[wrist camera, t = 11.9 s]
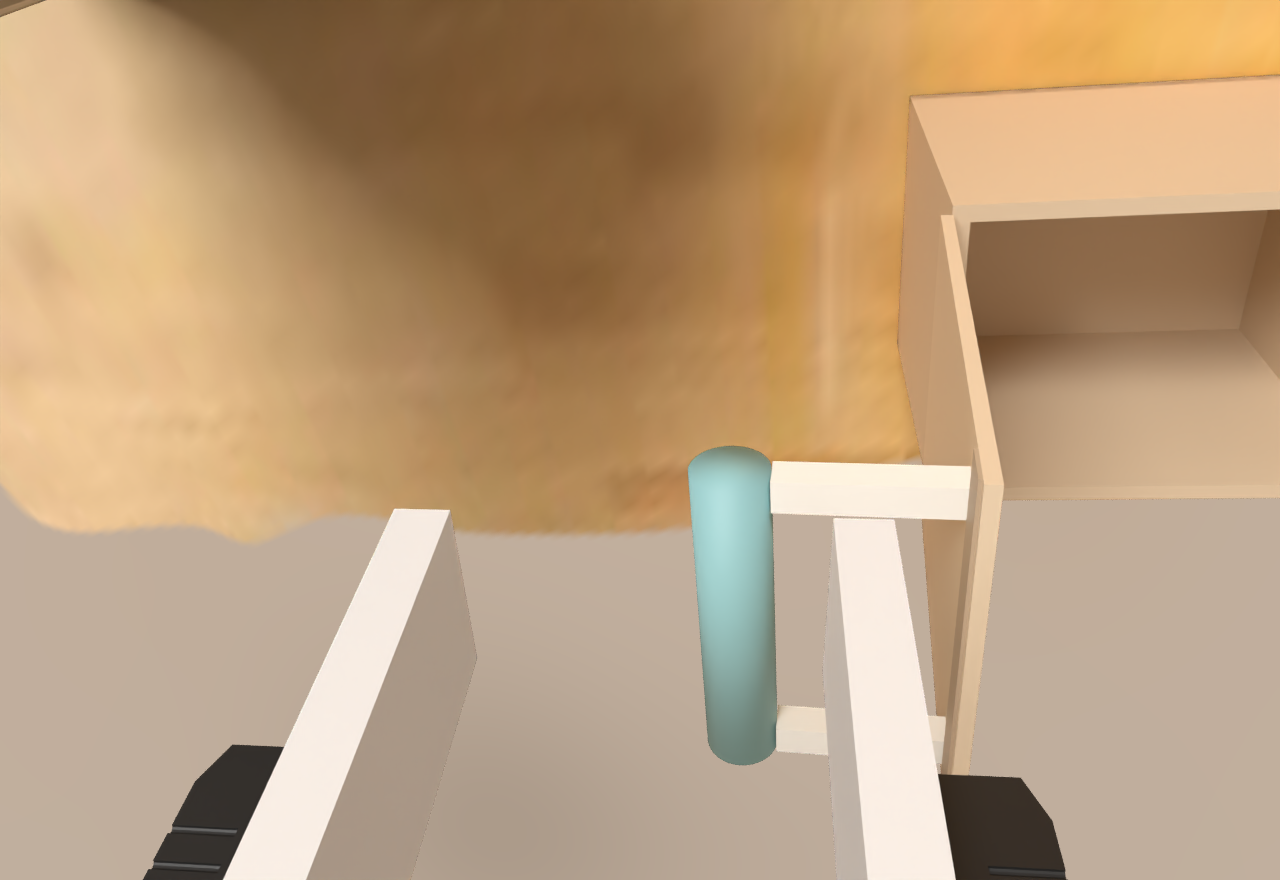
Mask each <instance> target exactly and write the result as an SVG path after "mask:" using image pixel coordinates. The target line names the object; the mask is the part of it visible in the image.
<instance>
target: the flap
mask: <svg viewBox="0 0 1280 880" xmlns="http://www.w3.org/2000/svg"><path fill="white" fill-rule="evenodd" d="M688 478H689V491H690V505H691V518H692V532H693V545H694V559H695V572H696V586H697V599H698V611H699V625H700V639H701V653H702V666H703V680H704V692H705V706H706V720H707V733H708V743H709V746H710V748H711V750H712V751H713V753H714V754H715V755H716V756H717V757H718V758H720V759H722V760H723V761H725V762H728V763H731V764H735V765H750V764H755V763H758V762H760V761H763V760H764V759H766V758H767V757H768V756H770V755H771V754H772V752H773V751H774V749H775V748H776V751H779V752H792V753H805V754H819V755H828V744H827V729H826V715H825V708H814V707H799V706H786V705H778V711H777V694H776V693H777V691H776V648H775V647H776V646H775V604H774V560H773V518H772V516H773V515H772V513H777V514H804V515H832V516H834V515H835V516H861V517H889V518H916V519H917V518H918V519H922V527H923V541H924V554H925V567H926V580H927V594H928V607H929V621H930V634H931V647H932V661H933V674H934V687H935V700H936V714H937V716H929V715H928V720H929V726H930V732H931V737H932V743H933V749H934V755H935V761H936V764H940V765H941V766H940V767H941V774H948V775H969V769H970V761H971V752H972V745H973V736H974V728H975V720H976V711H977V704H978V695H979V687H980V679H981V671H982V663H983V655H984V646H985V638H986V630H987V622H988V614H989V605H990V597H991V588H992V581H993V572H994V564H995V556H996V548H997V539H998V532H999V523H1000V516H1001V507H1002V499H1003V491H1004V481H1003V476H1002V471H1001V466H1000V460H999V455H998V450H997V444H996V439H995V434H994V428H993V423H992V418H991V412H990V407H989V402H988V396H987V391H986V386H985V380H984V375H983V370H982V364H981V359H980V354H979V348H978V343H977V338H976V332H975V327H974V322H973V317H972V311H971V306H970V301H969V295H968V290H967V285H966V279H965V274H964V269H963V263H962V258H961V253H960V247H959V242H958V237H957V231H956V226H955V221H954V215H941V218H940V232H939V246H938V261H937V275H936V289H935V303H934V317H933V331H932V345H931V360H930V374H929V388H928V402H927V416H926V430H925V444H924V459H923V465H899V464H861V463H823V462H785V461H773V463H772V471H771V463H770V461H769V460H768V458H767V457H766V456H765V455H763V454H762V453H760V452H758V451H756V450H754V449H750V448H746V447H741V446H723V447H717V448H713V449H710V450H707V451H705V452H703V453H701V454H699V455H698V456H696V457H695V458H694V459H693V460H692V461H691V463H690V465H689V467H688Z"/></svg>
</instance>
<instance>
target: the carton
mask: <svg viewBox="0 0 1280 880" xmlns="http://www.w3.org/2000/svg"><path fill="white" fill-rule="evenodd" d="M941 215H954V221H955V226H956V231H957V237H958V242H959V247H960V253H961V258H962V263H963V269H964V274H965V279H966V285H967V290H968V295H969V301H970V306H971V311H972V317H973V322H974V327H975V332H976V338H977V343H978V348H979V354H980V359H981V364H982V370H983V375H984V380H985V386H986V391H987V396H988V402H989V407H990V412H991V418H992V423H993V428H994V434H995V439H996V444H997V450H998V455H999V460H1000V466H1001V471H1002V476H1003V481H1004V491H1003V499H1002V500H1093V499H1095V500H1096V499H1097V500H1098V499H1100V500H1101V499H1213V498H1214V499H1217V498H1218V499H1224V498H1225V499H1226V498H1280V75H1266V76H1248V77H1231V78H1214V79H1196V80H1179V81H1161V82H1144V83H1126V84H1109V85H1091V86H1074V87H1057V88H1039V89H1022V90H1004V91H987V92H969V93H952V94H934V95H917V96H910V103H909V123H908V142H907V162H906V182H905V201H904V221H903V241H902V260H901V280H900V299H899V319H898V339H897V345H898V349H899V354H900V359H901V364H902V369H903V373H904V378H905V383H906V388H907V392H908V397H909V402H910V407H911V411H912V416H913V421H914V426H915V430H916V435H917V440H918V445H919V449H920V454H921V459H922V464H923V459H924V444H925V430H926V416H927V402H928V388H929V374H930V360H931V345H932V331H933V317H934V303H935V289H936V275H937V261H938V246H939V232H940V218H941Z"/></svg>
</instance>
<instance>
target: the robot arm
mask: <svg viewBox="0 0 1280 880" xmlns="http://www.w3.org/2000/svg"><path fill="white" fill-rule="evenodd" d="M42 1H45V0H0V17H2V16H4V15H7V14H10V13H13V12H15V11H18V10H21V9H23V8H26V7H29V6H32V5H34V4H37V3H40V2H42ZM476 660H477V654H476V649H475V644H474V638H473V633H472V627H471V622H470V616H469V611H468V605H467V600H466V594H465V589H464V583H463V578H462V572H461V567H460V561H459V556H458V550H457V545H456V539H455V534H454V528H453V523H452V517H451V512H450V510H426V509H394V511H393V513H392V515H391V517H390V519H389V521H388V524H387V526H386V528H385V530H384V532H383V534H382V537H381V539H380V541H379V543H378V545H377V547H376V550H375V552H374V554H373V556H372V559H371V561H370V563H369V565H368V567H367V569H366V571H365V573H364V576H363V578H362V580H361V582H360V584H359V586H358V589H357V591H356V593H355V595H354V597H353V600H352V602H351V604H350V606H349V608H348V610H347V613H346V615H345V617H344V619H343V621H342V623H341V625H340V628H339V630H338V632H337V634H336V636H335V639H334V641H333V643H332V645H331V647H330V649H329V652H328V654H327V656H326V658H325V660H324V662H323V664H322V666H321V669H320V671H319V673H318V675H317V677H316V679H315V682H314V684H313V686H312V688H311V690H310V693H309V695H308V697H307V699H306V701H305V703H304V706H303V708H302V710H301V712H300V714H299V716H298V718H297V721H296V723H295V725H294V727H293V729H292V731H291V734H290V736H289V738H288V740H287V742H286V745H285V747H273V746H251V745H232V746H231V747H230V748H229V749H228V750H227V751H226V752H225V753H224V754H223V755H222V756H221V757H220V758H219V759H217V761H216V762H214V763H213V765H211V766H210V767H209V768H208V769H207V770H206V771H205V772H204V773H203V774H202V775H201V776H200V777H199V778H198V779H197V780H196V781H195V783H194V785H193V786H192V789H191V790H190V792H189V794H188V796H187V798H186V800H185V802H184V804H183V805H182V807H181V809H180V811H179V813H178V815H177V817H176V818H175V821H174V822H173V824H172V826H173V828H172V832H171V833H168V834H167V835H166V837H165V839H164V841H163V843H162V845H161V847H160V849H159V851H158V853H157V854H156V856H155V858H154V860H153V861H154V865H153V868H152V869H149V870H148V871H147V873H146V875H145V877H144V879H143V880H411V877H412V874H413V871H414V867H415V864H416V861H417V857H418V854H419V850H420V847H421V844H422V841H423V837H424V833H425V830H426V827H427V824H428V821H429V817H430V814H431V810H432V807H433V804H434V800H435V797H436V794H437V790H438V787H439V784H440V781H441V777H442V774H443V771H444V767H445V764H446V760H447V757H448V754H449V750H450V747H451V743H452V740H453V737H454V734H455V730H456V727H457V723H458V720H459V717H460V713H461V710H462V707H463V704H464V700H465V697H466V694H467V690H468V687H469V684H470V680H471V677H472V674H473V670H474V667H475V664H476ZM823 685H824V700H825V715H826V729H827V744H828V759H829V772H830V787H831V803H832V817H833V832H834V846H835V862H836V876H837V880H1066V877H1065V867H1064V863H1063V859H1062V855H1061V852H1060V848H1059V844H1058V840H1057V837H1056V833H1055V830H1054V826H1053V822H1052V820H1051V819H1050V817H1049V816H1048V814H1047V813H1046V812H1045V810H1044V809H1043V808H1042V806H1041V805H1040V804H1039V802H1038V801H1037V799H1036V798H1035V797H1034V795H1033V794H1032V793H1031V791H1030V790H1029V789H1028V787H1027V786H1026V784H1025V783H1024V782H1023V780H1022V779H1021V778H1013V777H992V776H991V777H990V776H970V775H948V774H938V773H937V767H936V761H935V755H934V749H933V743H932V737H931V732H930V726H929V720H928V714H927V709H926V702H925V696H924V691H923V685H922V679H921V673H920V667H919V661H918V655H917V650H916V644H915V638H914V632H913V626H912V620H911V614H910V608H909V603H908V597H907V591H906V585H905V579H904V573H903V567H902V561H901V556H900V550H899V544H898V538H897V533H896V526H895V520H889V519H844V518H843V519H842V518H834V519H833V532H832V547H831V561H830V574H829V588H828V602H827V616H826V629H825V643H824V657H823Z"/></svg>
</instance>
